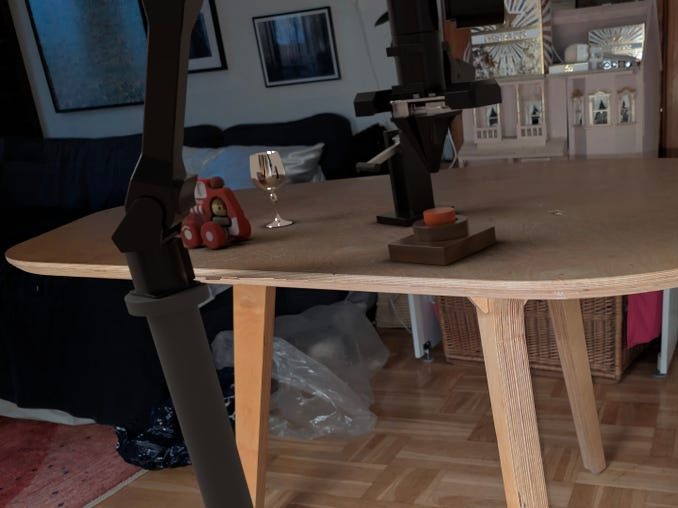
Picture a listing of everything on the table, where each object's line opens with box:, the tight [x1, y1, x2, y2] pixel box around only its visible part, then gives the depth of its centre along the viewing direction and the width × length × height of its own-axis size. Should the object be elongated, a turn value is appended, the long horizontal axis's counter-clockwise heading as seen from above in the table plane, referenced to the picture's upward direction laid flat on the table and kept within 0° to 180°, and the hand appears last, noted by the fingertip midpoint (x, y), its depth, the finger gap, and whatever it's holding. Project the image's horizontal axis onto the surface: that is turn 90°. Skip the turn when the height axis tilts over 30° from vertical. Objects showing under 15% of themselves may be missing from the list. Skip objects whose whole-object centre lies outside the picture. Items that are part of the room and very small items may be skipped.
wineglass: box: [249, 150, 293, 228], centre depth 119 cm, size 6×6×12 cm
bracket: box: [375, 128, 456, 228], centre depth 111 cm, size 10×8×14 cm
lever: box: [355, 134, 401, 172], centre depth 108 cm, size 10×5×2 cm, turn 133°
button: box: [423, 207, 456, 225], centre depth 89 cm, size 4×4×2 cm
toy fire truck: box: [179, 175, 252, 250], centre depth 110 cm, size 7×12×10 cm, turn 60°
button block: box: [387, 214, 497, 266], centre depth 90 cm, size 11×9×4 cm
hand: (434, 172), depth 87 cm, fingers closed
